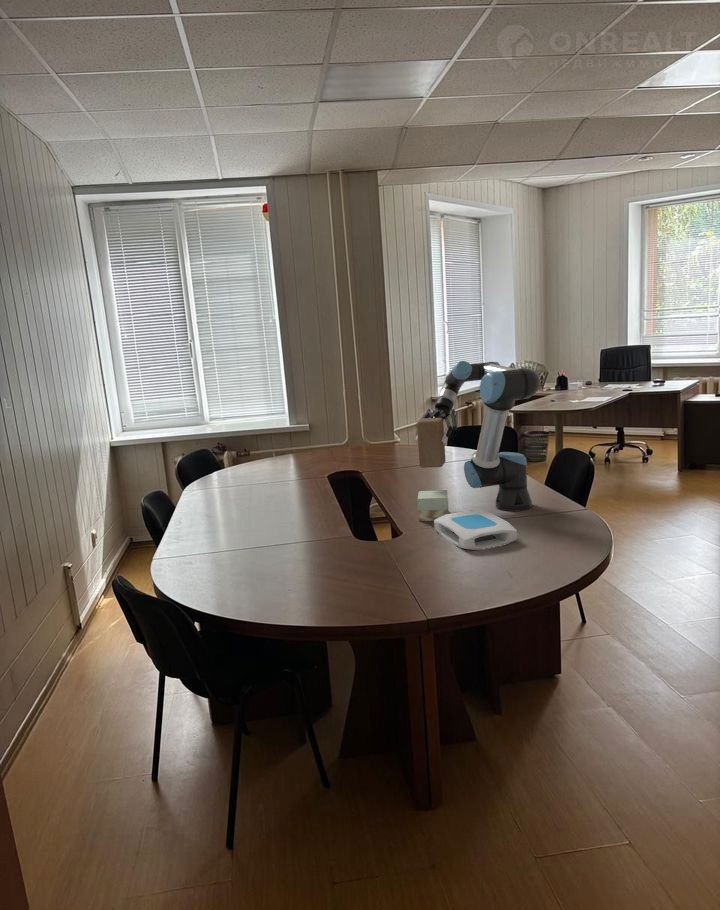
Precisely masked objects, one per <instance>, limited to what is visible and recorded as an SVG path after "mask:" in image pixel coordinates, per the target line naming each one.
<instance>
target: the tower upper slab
mask: <svg viewBox="0 0 720 910" xmlns="http://www.w3.org/2000/svg"><path fill="white" fill-rule="evenodd" d="M417 495H418V496H417V512H418V511H421V510H449V501H448V490H447V489H445V490H444V489H443V490H420V491H419V490H418V494H417Z"/></svg>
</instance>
